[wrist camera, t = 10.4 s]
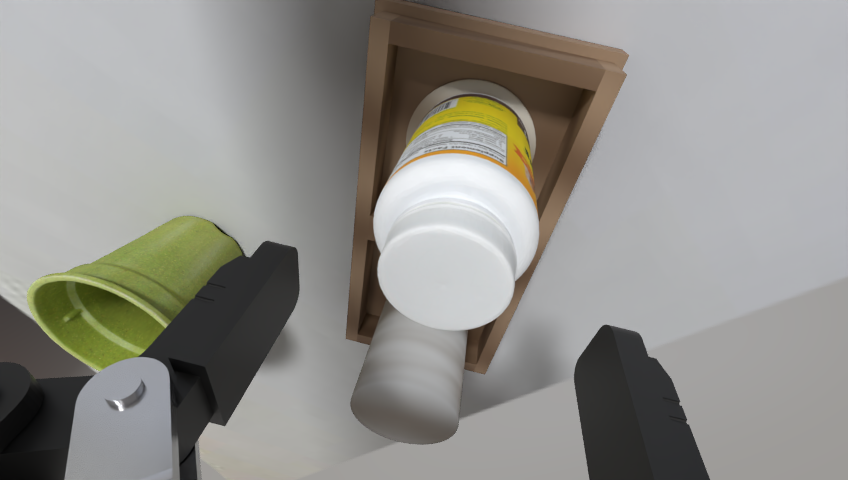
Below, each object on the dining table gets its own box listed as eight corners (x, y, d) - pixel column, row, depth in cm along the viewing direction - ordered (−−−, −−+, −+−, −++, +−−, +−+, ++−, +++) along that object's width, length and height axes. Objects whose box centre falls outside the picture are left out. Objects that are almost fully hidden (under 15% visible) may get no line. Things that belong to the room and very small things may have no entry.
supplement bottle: (509, 206, 21) (508, 368, 12) (409, 182, 21) (343, 324, 13) (547, 103, 17) (580, 232, 9) (427, 75, 17) (354, 175, 9)
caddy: (382, -5, 17) (271, 28, 9) (622, 49, 17) (731, 135, 9) (354, 308, 30) (297, 439, 22) (490, 342, 29) (484, 489, 21)
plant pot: (120, 189, 27) (-14, 270, 20) (244, 196, 25) (145, 286, 18) (176, 288, 32) (87, 378, 25) (281, 299, 31) (215, 398, 24)
